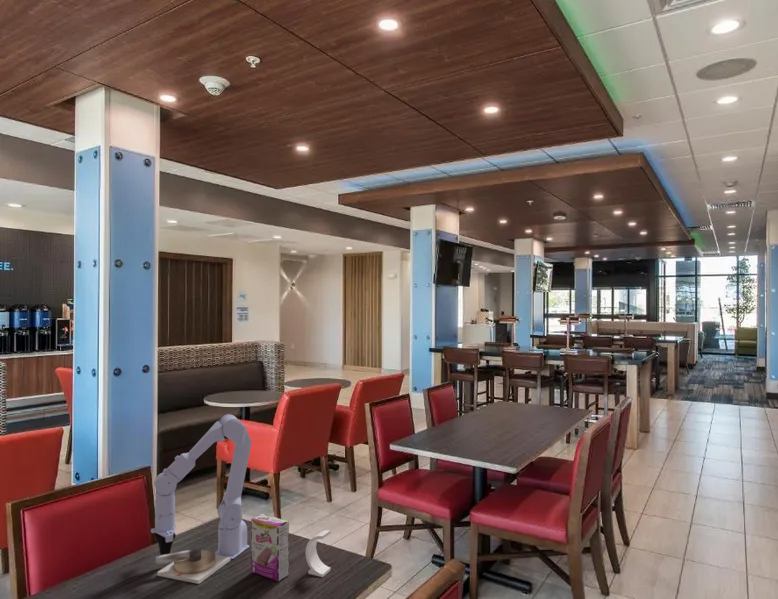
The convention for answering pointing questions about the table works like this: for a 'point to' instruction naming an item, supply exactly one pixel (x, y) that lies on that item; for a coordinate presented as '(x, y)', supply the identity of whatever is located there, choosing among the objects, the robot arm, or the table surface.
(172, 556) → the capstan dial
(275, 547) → the candy bar box
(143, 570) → the table surface
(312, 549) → the headphone stand
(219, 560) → the base plate
